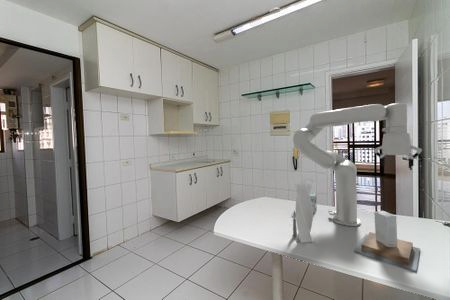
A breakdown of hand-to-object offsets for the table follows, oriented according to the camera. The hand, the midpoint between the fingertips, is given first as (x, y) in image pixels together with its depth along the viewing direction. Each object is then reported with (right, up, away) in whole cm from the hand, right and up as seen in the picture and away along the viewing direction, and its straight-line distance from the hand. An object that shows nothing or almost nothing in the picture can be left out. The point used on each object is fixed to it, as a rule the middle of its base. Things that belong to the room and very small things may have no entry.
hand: (396, 166), depth 95 cm
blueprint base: (-16, -32, -15) cm, 39 cm away
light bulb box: (-29, -30, +32) cm, 53 cm away
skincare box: (-17, -29, -15) cm, 37 cm away
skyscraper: (-44, -33, -3) cm, 55 cm away
